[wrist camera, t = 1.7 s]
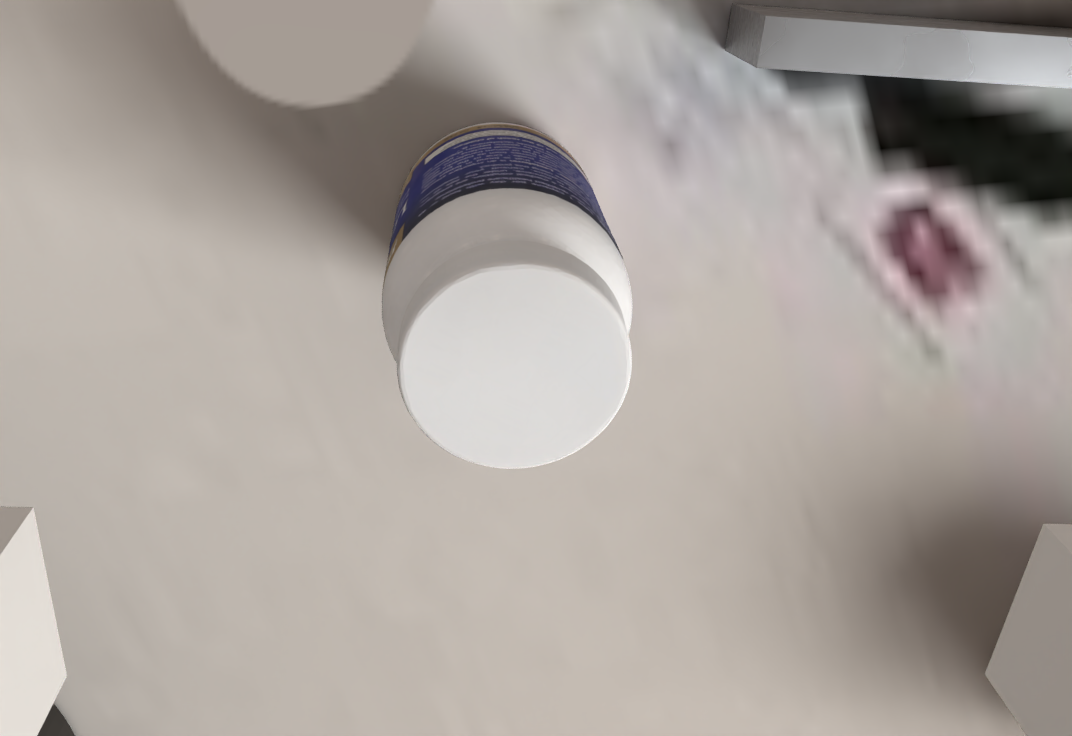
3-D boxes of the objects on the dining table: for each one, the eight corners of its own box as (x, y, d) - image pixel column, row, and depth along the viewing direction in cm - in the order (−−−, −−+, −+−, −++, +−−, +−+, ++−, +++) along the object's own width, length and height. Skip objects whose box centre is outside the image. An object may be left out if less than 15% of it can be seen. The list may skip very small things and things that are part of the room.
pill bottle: (364, 160, 26) (318, 295, 17) (556, 87, 25) (611, 186, 17) (442, 333, 29) (438, 528, 20) (617, 270, 28) (693, 440, 19)
